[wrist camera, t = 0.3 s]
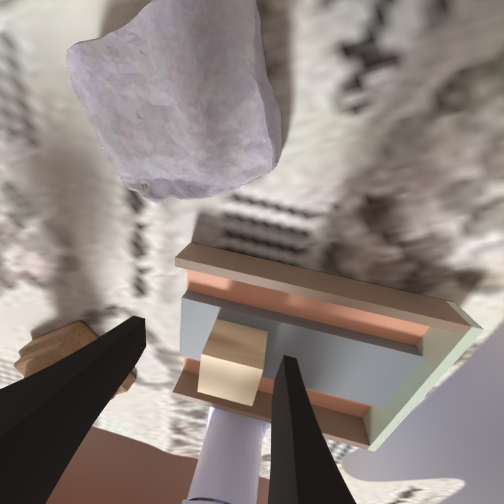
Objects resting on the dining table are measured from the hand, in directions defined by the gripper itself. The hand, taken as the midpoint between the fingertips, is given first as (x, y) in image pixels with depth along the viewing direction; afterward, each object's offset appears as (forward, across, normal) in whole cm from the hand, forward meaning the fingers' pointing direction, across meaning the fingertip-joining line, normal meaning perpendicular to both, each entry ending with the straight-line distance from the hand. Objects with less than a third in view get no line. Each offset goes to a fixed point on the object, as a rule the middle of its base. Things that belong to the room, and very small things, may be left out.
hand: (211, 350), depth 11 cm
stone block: (+10, +5, -10) cm, 15 cm away
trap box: (+10, -6, +8) cm, 14 cm away
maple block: (+8, -1, +8) cm, 11 cm away
